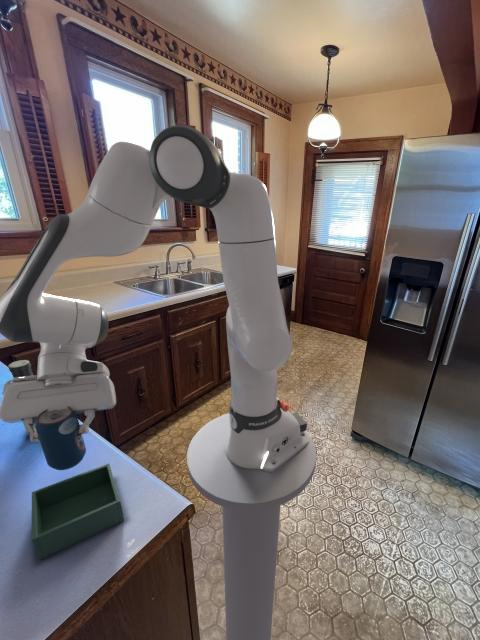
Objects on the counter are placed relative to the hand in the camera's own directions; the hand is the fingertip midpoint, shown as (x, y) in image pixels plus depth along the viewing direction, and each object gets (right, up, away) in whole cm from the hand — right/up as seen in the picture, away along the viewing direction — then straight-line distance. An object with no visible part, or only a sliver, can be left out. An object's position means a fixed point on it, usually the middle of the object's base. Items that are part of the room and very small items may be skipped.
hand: (60, 437), depth 63 cm
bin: (+6, -14, -3) cm, 16 cm away
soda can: (-1, -6, +3) cm, 7 cm away
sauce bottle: (-18, -4, +18) cm, 26 cm away
